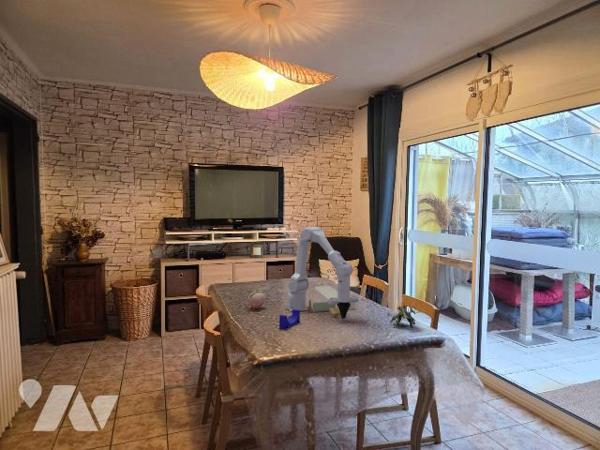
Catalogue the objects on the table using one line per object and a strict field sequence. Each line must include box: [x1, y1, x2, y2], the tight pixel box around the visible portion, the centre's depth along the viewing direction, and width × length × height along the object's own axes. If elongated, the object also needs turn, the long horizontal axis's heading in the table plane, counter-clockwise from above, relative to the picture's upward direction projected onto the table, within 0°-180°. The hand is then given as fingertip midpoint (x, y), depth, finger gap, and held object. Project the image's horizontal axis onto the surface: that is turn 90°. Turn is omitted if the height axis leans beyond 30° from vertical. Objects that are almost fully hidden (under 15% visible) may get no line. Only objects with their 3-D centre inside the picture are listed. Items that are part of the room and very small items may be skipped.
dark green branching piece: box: [386, 305, 416, 328], centre depth 171 cm, size 11×11×12 cm
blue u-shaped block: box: [278, 309, 301, 331], centre depth 172 cm, size 12×4×6 cm, turn 148°
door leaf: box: [312, 301, 337, 313], centre depth 195 cm, size 12×2×4 cm, turn 108°
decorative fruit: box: [247, 289, 267, 310], centre depth 198 cm, size 9×8×10 cm
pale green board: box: [308, 299, 356, 314], centre depth 196 cm, size 25×1×6 cm, turn 108°
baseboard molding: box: [312, 283, 338, 300], centre depth 235 cm, size 31×3×12 cm
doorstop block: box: [328, 308, 342, 319], centre depth 189 cm, size 4×10×2 cm, turn 7°
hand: (343, 318), depth 180 cm, fingers closed
